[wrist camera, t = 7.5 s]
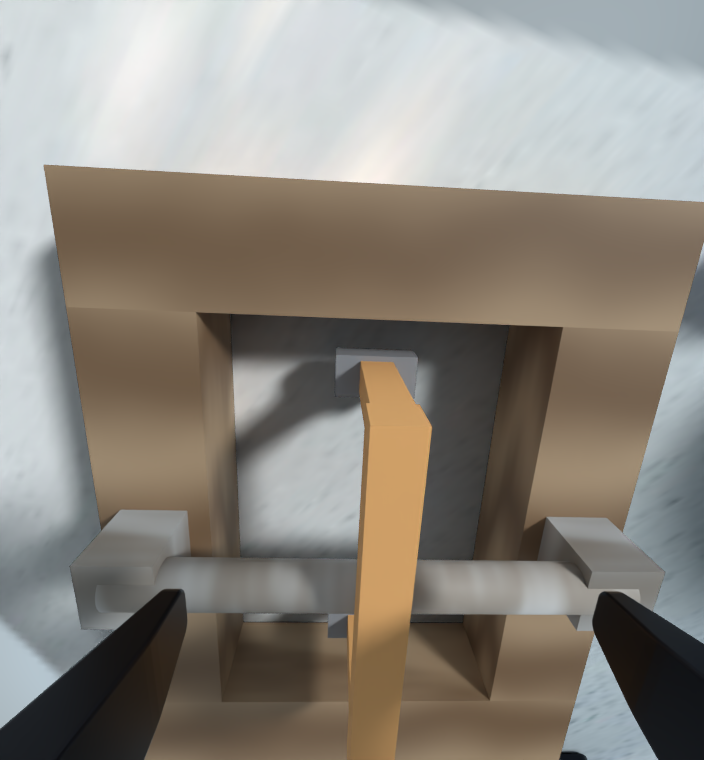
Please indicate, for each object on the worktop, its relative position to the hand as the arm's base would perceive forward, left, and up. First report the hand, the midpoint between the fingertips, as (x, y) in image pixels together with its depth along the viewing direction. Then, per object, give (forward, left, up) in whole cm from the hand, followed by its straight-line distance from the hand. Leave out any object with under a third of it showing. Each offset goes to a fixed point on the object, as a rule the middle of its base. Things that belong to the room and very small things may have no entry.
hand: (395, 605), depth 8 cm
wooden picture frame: (-3, 0, -10) cm, 10 cm away
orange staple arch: (-3, 0, -9) cm, 9 cm away
